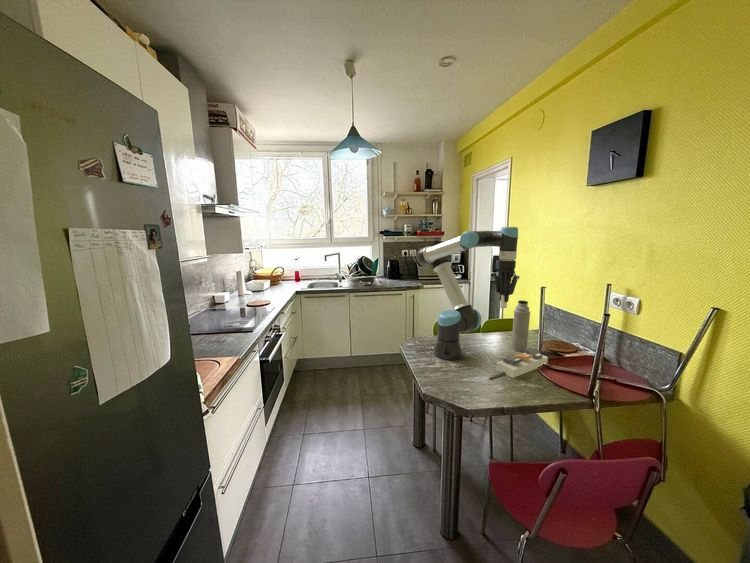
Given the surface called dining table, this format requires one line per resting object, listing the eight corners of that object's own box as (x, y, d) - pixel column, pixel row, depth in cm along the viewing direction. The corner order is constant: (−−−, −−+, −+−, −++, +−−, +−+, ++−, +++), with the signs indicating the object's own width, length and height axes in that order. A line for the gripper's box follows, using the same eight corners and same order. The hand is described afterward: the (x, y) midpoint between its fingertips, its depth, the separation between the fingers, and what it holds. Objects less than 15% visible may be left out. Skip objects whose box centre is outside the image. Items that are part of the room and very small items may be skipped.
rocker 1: (503, 361, 142) (502, 358, 142) (509, 359, 145) (509, 356, 145) (516, 364, 136) (515, 361, 136) (522, 361, 138) (522, 358, 138)
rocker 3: (523, 351, 150) (524, 349, 149) (529, 349, 152) (530, 347, 152) (536, 359, 144) (537, 356, 144) (542, 357, 147) (543, 354, 146)
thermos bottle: (511, 345, 172) (515, 298, 167) (526, 347, 169) (530, 300, 164) (511, 350, 165) (515, 302, 160) (526, 352, 162) (531, 303, 157)
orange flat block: (513, 358, 146) (513, 355, 146) (520, 356, 148) (519, 353, 149) (526, 359, 140) (526, 356, 140) (533, 357, 142) (532, 354, 142)
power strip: (481, 375, 137) (481, 365, 136) (530, 357, 156) (531, 349, 155) (497, 383, 130) (498, 373, 129) (547, 364, 148) (548, 355, 147)
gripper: (490, 259, 143) (487, 305, 147) (514, 261, 132) (510, 312, 136) (500, 258, 147) (497, 304, 151) (524, 260, 135) (520, 310, 140)
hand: (503, 307), depth 143 cm, fingers closed
